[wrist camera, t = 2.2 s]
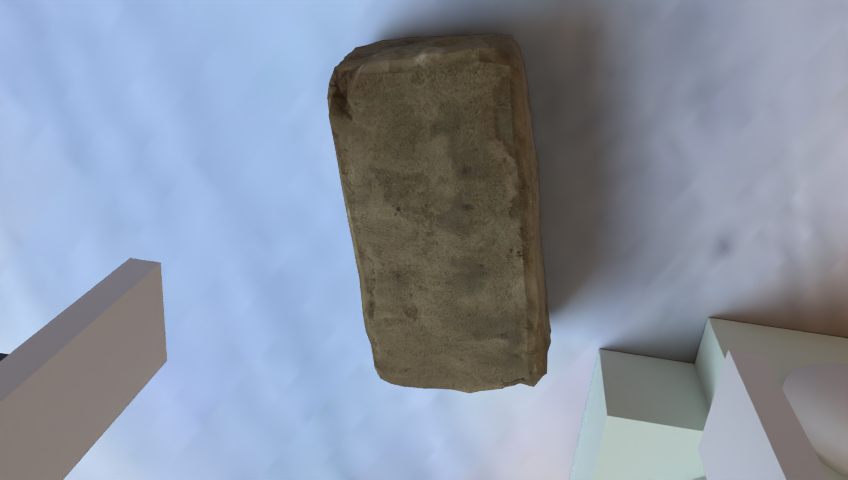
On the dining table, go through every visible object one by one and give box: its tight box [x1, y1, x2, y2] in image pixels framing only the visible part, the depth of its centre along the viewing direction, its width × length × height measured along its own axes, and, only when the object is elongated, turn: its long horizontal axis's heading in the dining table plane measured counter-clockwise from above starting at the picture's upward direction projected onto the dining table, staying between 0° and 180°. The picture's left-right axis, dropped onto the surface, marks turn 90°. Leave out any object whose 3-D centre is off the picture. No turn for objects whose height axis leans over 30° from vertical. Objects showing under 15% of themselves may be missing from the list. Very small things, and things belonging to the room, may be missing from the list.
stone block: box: [327, 34, 551, 393], centre depth 23 cm, size 6×12×5 cm, turn 9°
